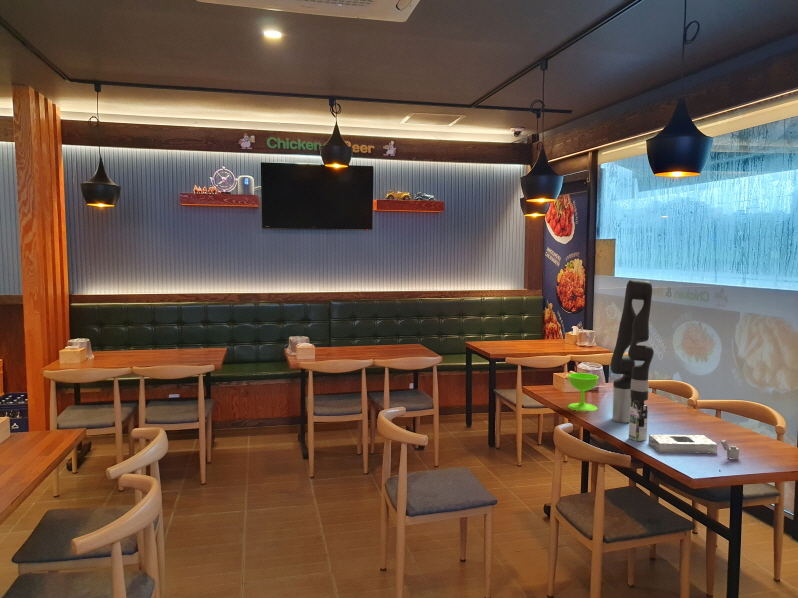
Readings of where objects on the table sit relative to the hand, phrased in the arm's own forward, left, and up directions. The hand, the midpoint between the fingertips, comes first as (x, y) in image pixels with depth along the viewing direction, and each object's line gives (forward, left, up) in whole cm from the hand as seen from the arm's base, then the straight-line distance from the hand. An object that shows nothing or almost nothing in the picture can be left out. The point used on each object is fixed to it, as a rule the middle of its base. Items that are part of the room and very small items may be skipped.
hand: (638, 424), depth 260 cm
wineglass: (-52, -11, -7) cm, 54 cm away
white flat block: (+11, +15, -7) cm, 20 cm away
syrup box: (0, 0, -7) cm, 7 cm away
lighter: (+23, +29, -7) cm, 38 cm away
